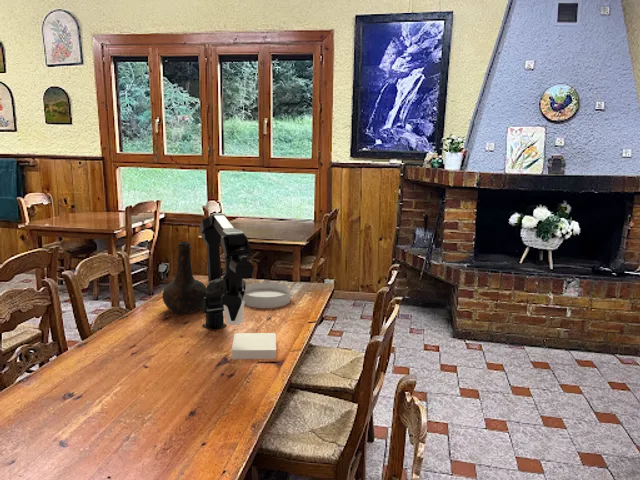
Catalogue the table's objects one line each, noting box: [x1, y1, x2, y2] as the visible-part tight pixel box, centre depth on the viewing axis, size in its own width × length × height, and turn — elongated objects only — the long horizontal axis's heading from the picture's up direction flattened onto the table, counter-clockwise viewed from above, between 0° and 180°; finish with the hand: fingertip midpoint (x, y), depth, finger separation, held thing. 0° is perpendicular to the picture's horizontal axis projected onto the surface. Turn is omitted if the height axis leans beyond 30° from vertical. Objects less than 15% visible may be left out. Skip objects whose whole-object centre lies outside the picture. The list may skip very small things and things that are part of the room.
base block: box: [231, 332, 277, 360], centre depth 159 cm, size 14×14×3 cm
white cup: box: [223, 300, 245, 326], centre depth 156 cm, size 7×7×7 cm
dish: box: [242, 281, 291, 309], centre depth 211 cm, size 22×22×5 cm
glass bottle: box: [162, 241, 207, 315], centre depth 192 cm, size 18×18×28 cm
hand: (234, 317), depth 156 cm, fingers closed on white cup, 6 cm apart
